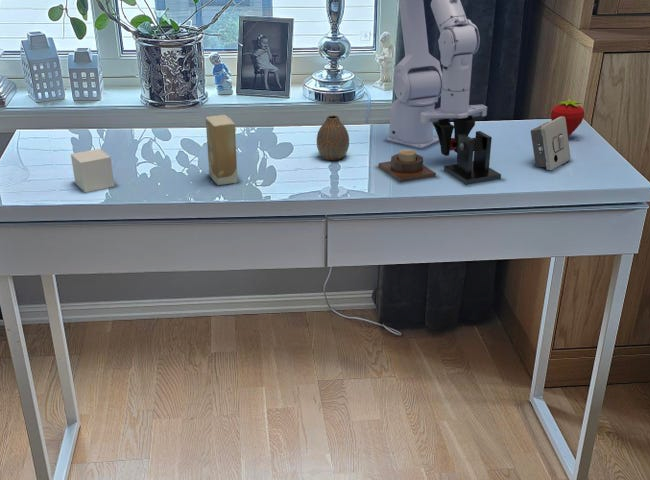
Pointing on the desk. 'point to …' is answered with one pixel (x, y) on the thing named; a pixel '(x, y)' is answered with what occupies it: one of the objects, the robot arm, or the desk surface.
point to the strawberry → (569, 114)
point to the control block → (407, 169)
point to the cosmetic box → (221, 149)
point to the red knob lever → (477, 144)
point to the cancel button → (407, 155)
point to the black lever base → (471, 169)
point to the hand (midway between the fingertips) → (451, 153)
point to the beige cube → (92, 170)
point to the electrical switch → (551, 144)
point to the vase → (332, 139)
